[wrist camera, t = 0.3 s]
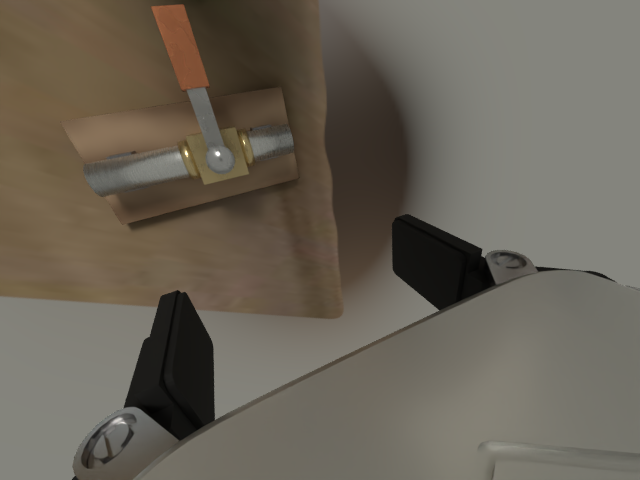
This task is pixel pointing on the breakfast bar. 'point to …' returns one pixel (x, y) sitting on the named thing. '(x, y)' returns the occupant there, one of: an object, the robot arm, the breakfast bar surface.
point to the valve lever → (193, 80)
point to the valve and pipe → (187, 160)
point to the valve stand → (165, 131)
